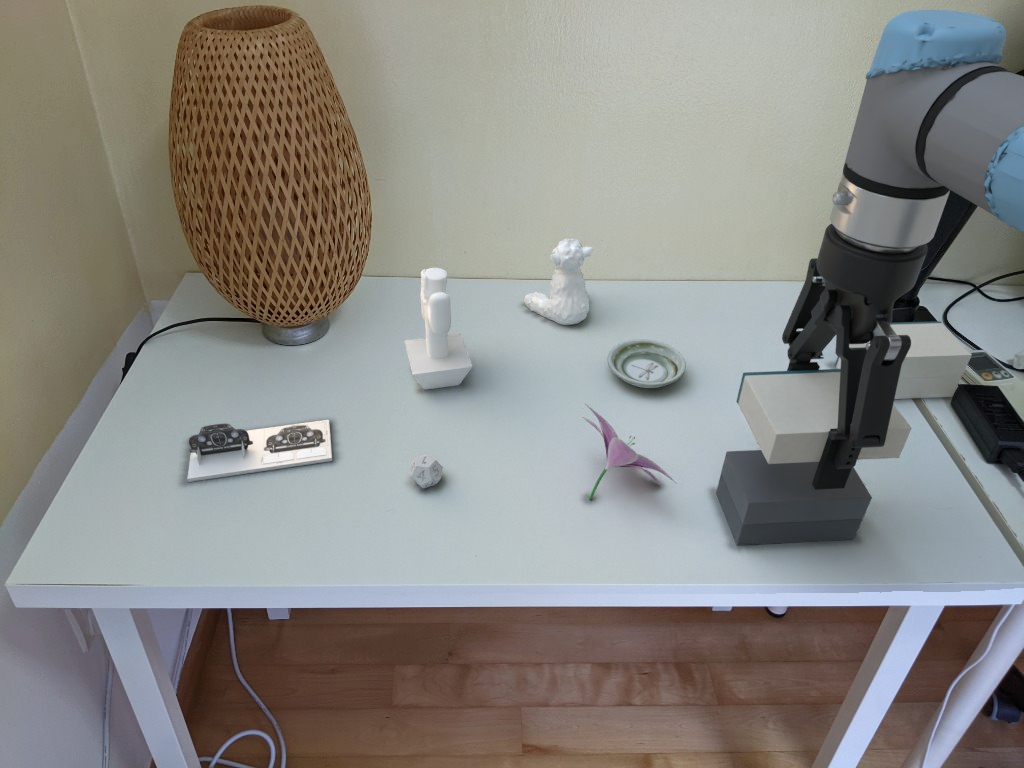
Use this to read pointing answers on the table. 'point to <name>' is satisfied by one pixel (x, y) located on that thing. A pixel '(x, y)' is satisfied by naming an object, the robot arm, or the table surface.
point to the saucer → (646, 363)
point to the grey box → (786, 502)
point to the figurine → (437, 338)
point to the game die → (425, 470)
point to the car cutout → (256, 449)
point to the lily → (621, 452)
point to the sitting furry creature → (564, 286)
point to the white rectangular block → (928, 361)
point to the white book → (803, 415)
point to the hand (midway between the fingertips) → (807, 449)
